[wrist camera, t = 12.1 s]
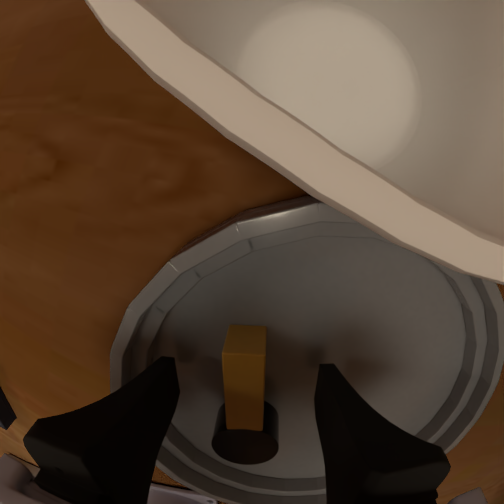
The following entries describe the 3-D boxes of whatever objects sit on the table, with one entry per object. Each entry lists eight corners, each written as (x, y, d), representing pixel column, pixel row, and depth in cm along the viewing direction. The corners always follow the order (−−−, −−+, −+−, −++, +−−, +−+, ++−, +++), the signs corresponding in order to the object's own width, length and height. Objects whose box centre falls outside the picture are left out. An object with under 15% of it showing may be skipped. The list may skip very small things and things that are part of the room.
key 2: (210, 322, 13) (199, 351, 11) (285, 325, 13) (288, 355, 10) (219, 433, 15) (213, 462, 13) (276, 436, 15) (276, 466, 13)
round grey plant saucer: (418, 465, 16) (428, 491, 14) (165, 470, 17) (156, 499, 15) (510, 212, 11) (546, 223, 8) (107, 196, 12) (71, 205, 9)
